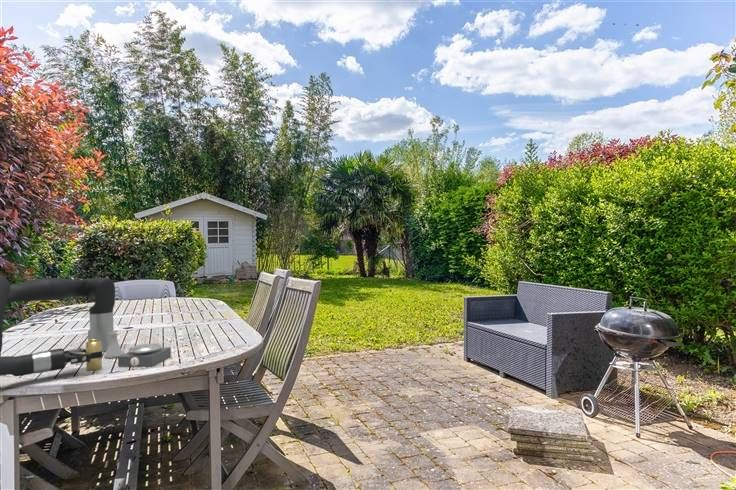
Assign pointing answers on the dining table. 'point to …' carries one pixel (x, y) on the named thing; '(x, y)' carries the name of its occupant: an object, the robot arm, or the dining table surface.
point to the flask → (113, 347)
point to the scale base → (144, 358)
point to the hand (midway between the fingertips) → (99, 352)
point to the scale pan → (144, 348)
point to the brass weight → (92, 347)
